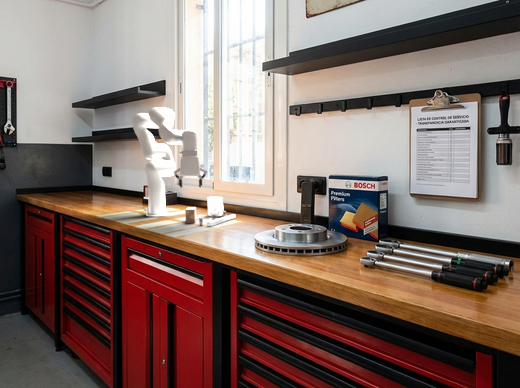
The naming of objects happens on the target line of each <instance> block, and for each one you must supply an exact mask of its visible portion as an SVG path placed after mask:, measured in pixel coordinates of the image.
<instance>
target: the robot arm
mask: <svg viewBox="0 0 520 388" xmlns="http://www.w3.org/2000/svg"><path fill="white" fill-rule="evenodd" d="M175 117H176V115H175V112H174V111H173V109H170V108H169V107H168V108H167V107H159V106H157V107H156V106H155V107H152V108H150V109H149V110H148V113H146V112H139V113H136V114H135V115H134V116H133V118H132V129H133V130H134V133H135V135H136V137H137V140H138V142H139V145H140V148H141V151H142V154H143V157H144V158H145V159H146V160H148V161H147V163H146V164H145V168H144V169H145V174H146V179H147V180H146V181H147V194H148V195H147V199H148V207H145V208H144V209H143V212H146V213H145V215H146V217H155V218H156V217H166V216H169V212H167V208H166V203H167V202H166V184H165V181H164V179H163V177H166V178H167V177H172V176H175V178H177V180H178V186H179V187H180V189H182V188H183V186H184V185H183V177H197V178H198V187H199V188H202V186H203V179H204V178H205V177H206V175H207V173H208V170H206V169H204V168H202V167H201V164H200V158H199V156H198V134H197V131H196V130H194V129H184V130H182V129H181V130H178V129H173V128H174V125H175V122H174V121H175ZM148 129H155V130H156V129H158V134H159V137H160V139H161V140H162V141H164V143H158V142H156V141H155V137H154V135H153V134H152V132H151V131H150V130H148ZM165 143H166V144H165ZM167 144H168V145H167ZM169 145H177V146H178V145H180V146H181V148H182V149H181V151H180V152H179V156H181V157H180V161H179V168H176V163H175V161H174V157H173V154H172V151H171V149H170V147H169ZM178 172H179V174H178ZM201 172H202V173H203V175H202V174H201ZM179 175H180V176H179Z"/></svg>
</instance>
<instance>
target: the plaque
mask: <svg viewBox="0 0 520 388" xmlns="http://www.w3.org/2000/svg"><path fill="white" fill-rule="evenodd" d="M197 216H198V215H197V207H196V206H188V207H186V208H185V224H195V223H196V222H197V220H198V219H197V218H198V217H197Z"/></svg>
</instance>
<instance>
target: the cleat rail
mask: <svg viewBox="0 0 520 388" xmlns="http://www.w3.org/2000/svg"><path fill="white" fill-rule="evenodd" d="M236 216H237V215H236V213H235V214H234V213H231V214H227V215H226V216H225V217H223V216H222V217H219V218H215V220H212V219H211V220H210V221H207V222H206V226H207V227H213V226H217V225H219V224H222V223H225V222H227V221H231V220H233V219H236Z"/></svg>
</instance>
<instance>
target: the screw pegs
mask: <svg viewBox="0 0 520 388" xmlns="http://www.w3.org/2000/svg"><path fill="white" fill-rule="evenodd" d="M225 216H227V210H223V213H222V217H225ZM198 219H199V223H198V224H199V226H200V227H201V226H202V227H203V226H204V225H203V217H199V218H198ZM215 219H216V217H215V214H212V217H211V221H212V220H215Z"/></svg>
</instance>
